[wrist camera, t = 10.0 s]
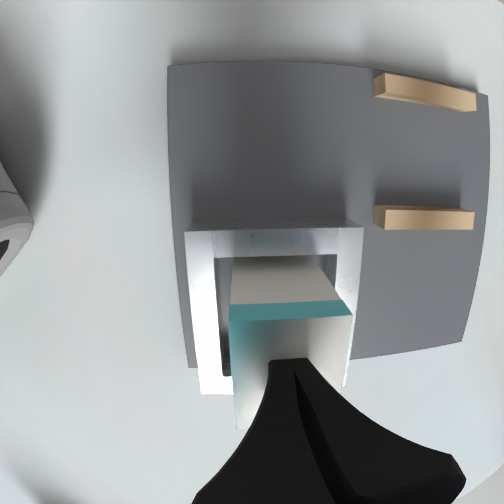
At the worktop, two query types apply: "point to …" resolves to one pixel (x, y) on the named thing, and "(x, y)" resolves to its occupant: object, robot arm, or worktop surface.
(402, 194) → the panel board
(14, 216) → the alarm clock
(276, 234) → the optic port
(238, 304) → the plug
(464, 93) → the wooden parallel rails
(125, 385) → the worktop surface
